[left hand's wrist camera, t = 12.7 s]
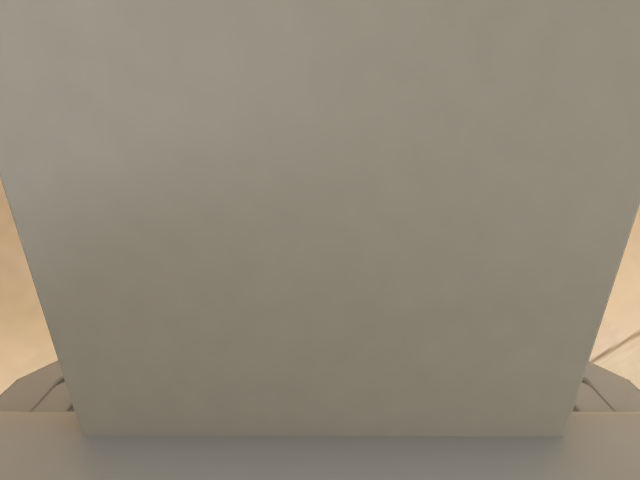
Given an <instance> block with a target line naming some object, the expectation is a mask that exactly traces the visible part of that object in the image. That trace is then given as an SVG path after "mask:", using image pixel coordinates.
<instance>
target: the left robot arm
mask: <svg viewBox="0 0 640 480" xmlns="http://www.w3.org/2000/svg"><path fill="white" fill-rule="evenodd" d="M0 480H640V390H639V389H638V388H637V387H636V386H635V385H633V384H632V383H631V382H630V381H629V380H627V379H625V378H623V377H621V376H619V375H617V374H614V373H612V372H610V371H608V370H606V369H604V368H602V367H599V366H597V365H595V364H593V363H591V362H589V361H588V364H587V367H586V370H585V373H584V376H583V380H582V383H581V386H580V389H579V392H578V395H577V398H576V401H575V404H574V407H573V410H572V413H571V416H570V419H569V423H568V426H567V429H566V432H565V435H564V436H563V437H438V436H83V435H82V433H81V430H80V427H79V423H78V420H77V417H76V414H75V411H74V408H73V404H72V401H71V398H70V395H69V392H68V389H67V385H66V382H65V379H64V376H63V373H62V370H61V367H60V363H59V360H58V361H56V362H54V363H52V364H49V365H47V366H45V367H43V368H41V369H39V370H37V371H35V372H33V373H30V374H28V375H26V376H24V377H22V378H20V379H18V380H16V381H15V382H14V383H13V384H12V385H11V386H10V387H9V388H8V389H7V390H6V391H4V392H3V393H2V394H1V395H0Z"/></svg>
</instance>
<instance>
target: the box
mask: <svg viewBox="0 0 640 480" xmlns="http://www.w3.org/2000/svg"><path fill="white" fill-rule="evenodd" d="M0 177H1V180H2V183H3V186H4V190H5V193H6V196H7V199H8V202H9V205H10V209H11V212H12V215H13V218H14V221H15V224H16V228H17V231H18V234H19V237H20V240H21V243H22V246H23V250H24V253H25V256H26V259H27V262H28V265H29V269H30V272H31V275H32V278H33V281H34V284H35V288H36V291H37V294H38V297H39V300H40V303H41V307H42V310H43V313H44V316H45V319H46V322H47V325H48V329H49V332H50V335H51V338H52V341H53V344H54V348H55V351H56V354H57V357H58V360H59V363H60V367H61V370H62V373H63V376H64V379H65V382H66V385H67V389H68V392H69V395H70V398H71V401H72V404H73V408H74V411H75V414H76V417H77V420H78V423H79V427H80V430H81V433H82V435H83V436H438V437H563V436H564V435H565V432H566V429H567V426H568V423H569V419H570V416H571V413H572V410H573V407H574V404H575V401H576V398H577V395H578V392H579V389H580V386H581V383H582V380H583V376H584V373H585V370H586V367H587V364H588V361H589V358H590V355H591V352H592V349H593V346H594V343H595V340H596V336H597V333H598V330H599V327H600V324H601V321H602V318H603V315H604V312H605V309H606V306H607V303H608V300H609V296H610V293H611V290H612V287H613V284H614V281H615V278H616V275H617V272H618V269H619V266H620V263H621V260H622V257H623V253H624V250H625V247H626V244H627V241H628V238H629V235H630V232H631V229H632V226H633V223H634V220H635V217H636V213H637V210H638V207H639V204H640V0H0Z"/></svg>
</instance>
